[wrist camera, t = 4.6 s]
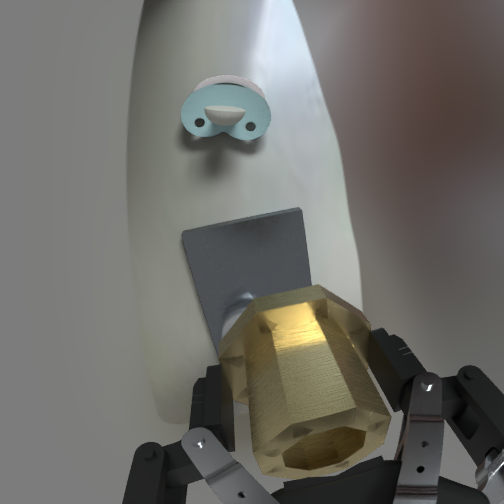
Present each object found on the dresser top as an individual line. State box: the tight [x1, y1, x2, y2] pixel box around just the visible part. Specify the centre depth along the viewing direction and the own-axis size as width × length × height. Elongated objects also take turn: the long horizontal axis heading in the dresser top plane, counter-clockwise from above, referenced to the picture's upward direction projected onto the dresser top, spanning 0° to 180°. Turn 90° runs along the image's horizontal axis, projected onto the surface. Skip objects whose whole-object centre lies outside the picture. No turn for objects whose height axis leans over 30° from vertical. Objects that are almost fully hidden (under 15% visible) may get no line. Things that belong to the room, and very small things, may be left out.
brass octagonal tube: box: [218, 284, 391, 480], centre depth 11 cm, size 7×7×6 cm
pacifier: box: [181, 75, 271, 140], centre depth 21 cm, size 7×6×6 cm
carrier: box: [181, 207, 312, 356], centre depth 28 cm, size 21×11×5 cm, turn 11°
